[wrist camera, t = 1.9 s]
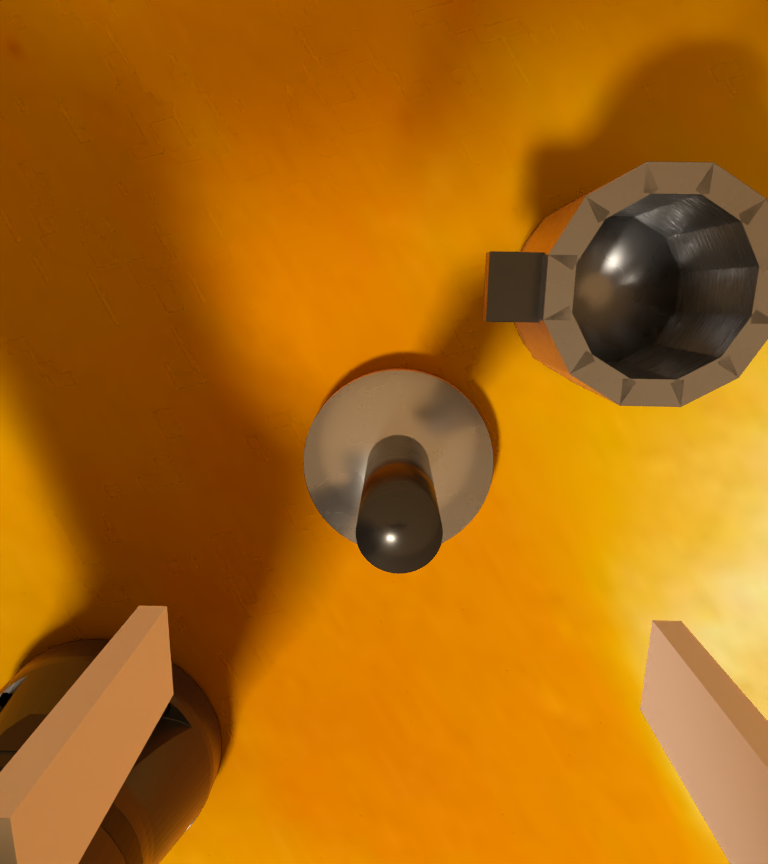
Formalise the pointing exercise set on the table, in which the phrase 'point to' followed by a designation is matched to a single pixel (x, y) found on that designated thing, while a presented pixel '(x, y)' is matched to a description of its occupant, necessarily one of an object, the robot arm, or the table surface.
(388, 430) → the lid
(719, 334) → the pot
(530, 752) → the table surface
